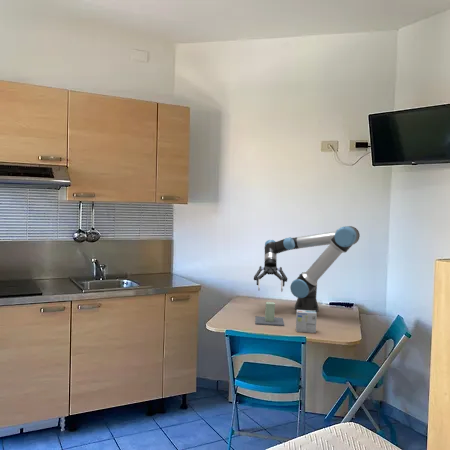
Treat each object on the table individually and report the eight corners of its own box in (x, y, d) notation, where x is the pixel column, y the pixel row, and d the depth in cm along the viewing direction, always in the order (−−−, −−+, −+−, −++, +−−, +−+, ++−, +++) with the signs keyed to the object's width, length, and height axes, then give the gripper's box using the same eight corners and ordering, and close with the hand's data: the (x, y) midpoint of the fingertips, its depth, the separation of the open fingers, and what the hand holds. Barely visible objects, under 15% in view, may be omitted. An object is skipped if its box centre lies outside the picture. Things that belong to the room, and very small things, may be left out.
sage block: (273, 319, 269) (274, 302, 269) (274, 321, 264) (274, 304, 264) (265, 319, 270) (265, 301, 269) (265, 321, 265) (266, 303, 264)
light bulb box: (315, 329, 254) (316, 310, 253) (316, 333, 247) (317, 313, 246) (295, 328, 255) (296, 309, 254) (295, 331, 248) (296, 311, 247)
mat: (282, 319, 274) (282, 317, 274) (284, 326, 258) (284, 324, 258) (255, 317, 275) (255, 316, 275) (255, 324, 259) (255, 323, 259)
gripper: (290, 266, 293) (291, 294, 279) (250, 264, 295) (249, 292, 281) (291, 258, 288) (292, 287, 274) (250, 256, 289) (249, 285, 275)
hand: (270, 289), depth 277 cm, fingers open, 13 cm apart
